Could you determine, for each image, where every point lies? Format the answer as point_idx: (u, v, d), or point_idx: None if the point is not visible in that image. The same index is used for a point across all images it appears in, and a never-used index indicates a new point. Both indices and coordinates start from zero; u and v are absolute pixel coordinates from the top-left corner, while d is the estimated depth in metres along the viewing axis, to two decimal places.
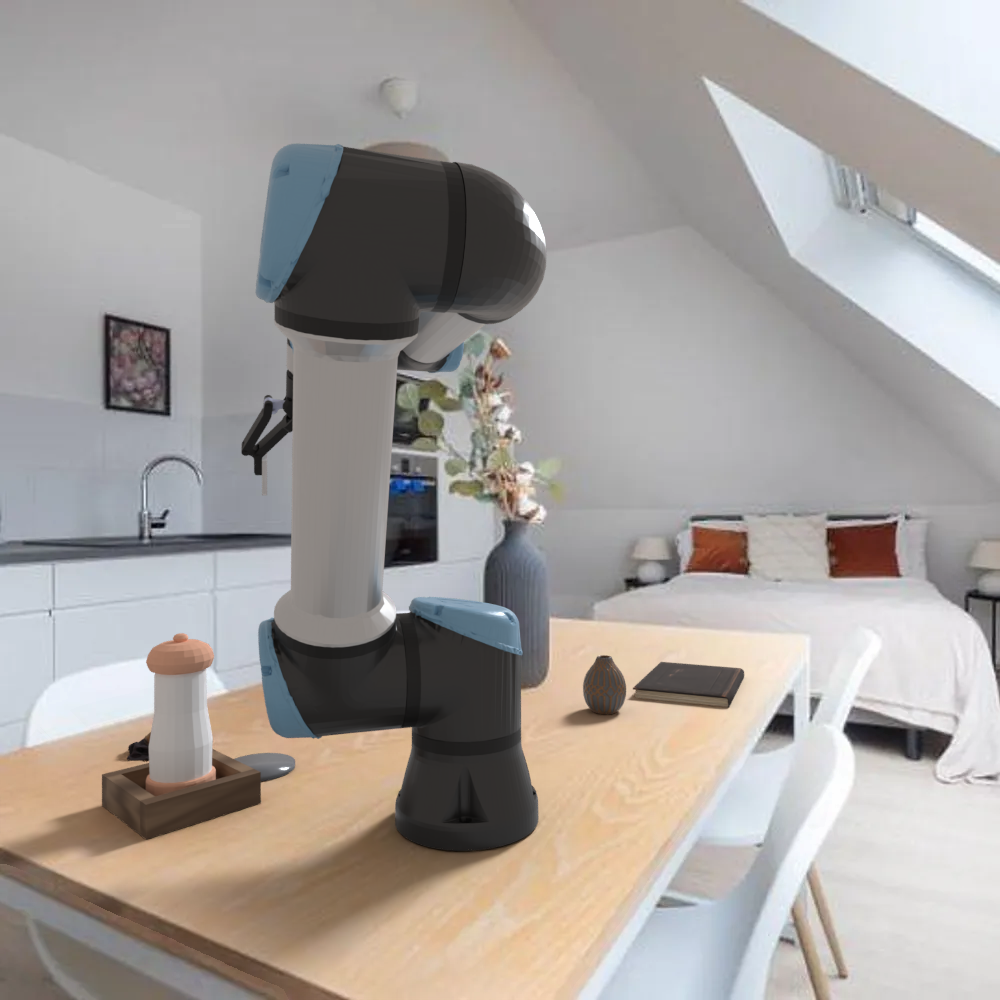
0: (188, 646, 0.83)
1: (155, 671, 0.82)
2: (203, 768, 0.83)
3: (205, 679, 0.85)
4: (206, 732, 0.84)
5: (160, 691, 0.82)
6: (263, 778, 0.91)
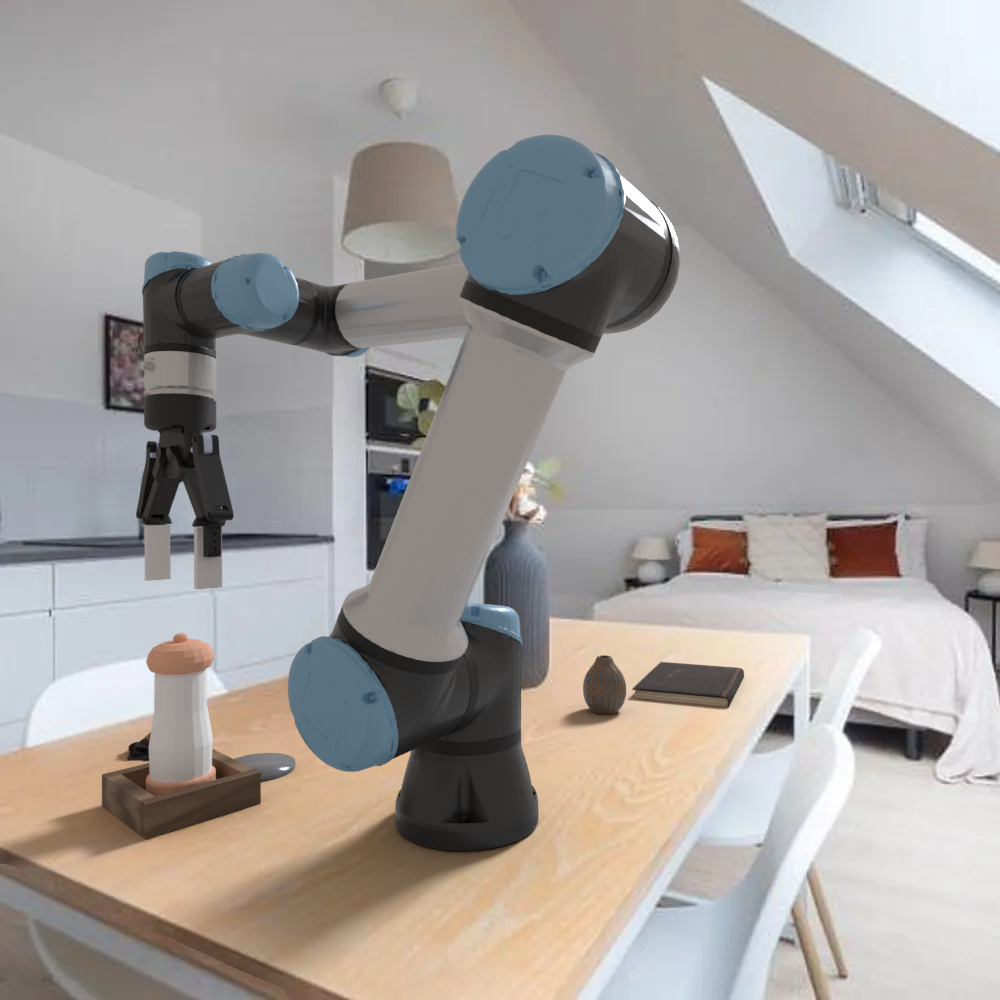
0: (188, 646, 0.83)
1: (155, 671, 0.82)
2: (203, 768, 0.83)
3: (205, 679, 0.85)
4: (206, 732, 0.84)
5: (160, 691, 0.82)
6: (263, 778, 0.91)
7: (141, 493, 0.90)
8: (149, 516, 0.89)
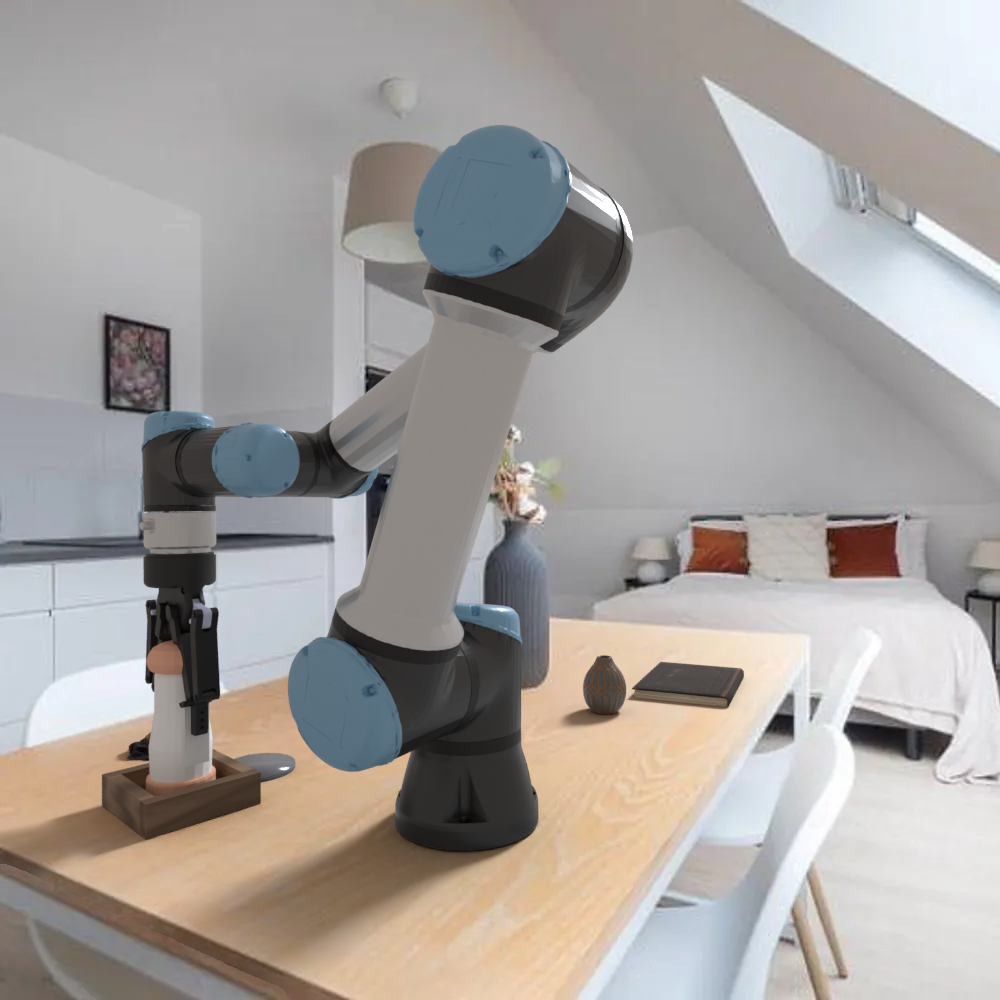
0: None
1: (155, 671, 0.82)
2: (203, 768, 0.83)
3: None
4: None
5: (160, 691, 0.82)
6: (263, 778, 0.91)
7: (147, 655, 0.88)
8: None
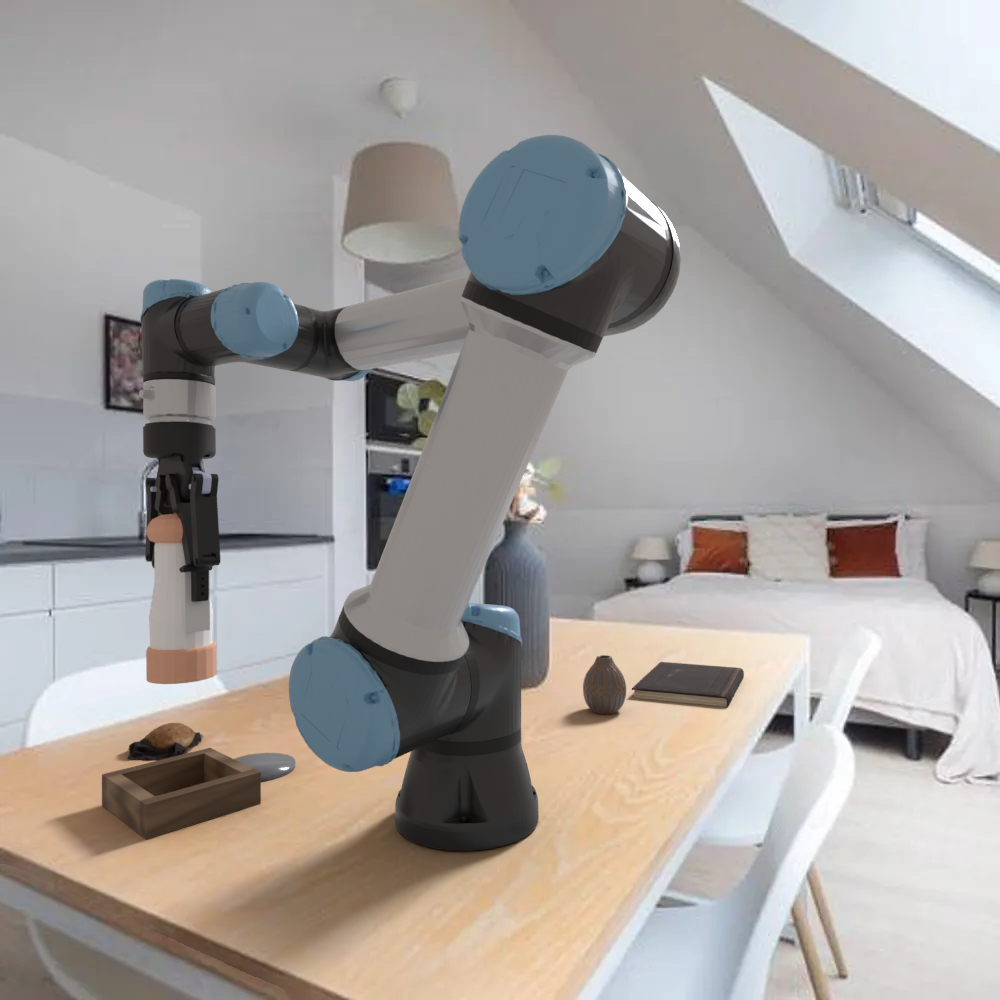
0: None
1: (155, 539, 0.82)
2: (204, 638, 0.83)
3: None
4: None
5: (160, 560, 0.82)
6: (263, 778, 0.91)
7: None
8: None
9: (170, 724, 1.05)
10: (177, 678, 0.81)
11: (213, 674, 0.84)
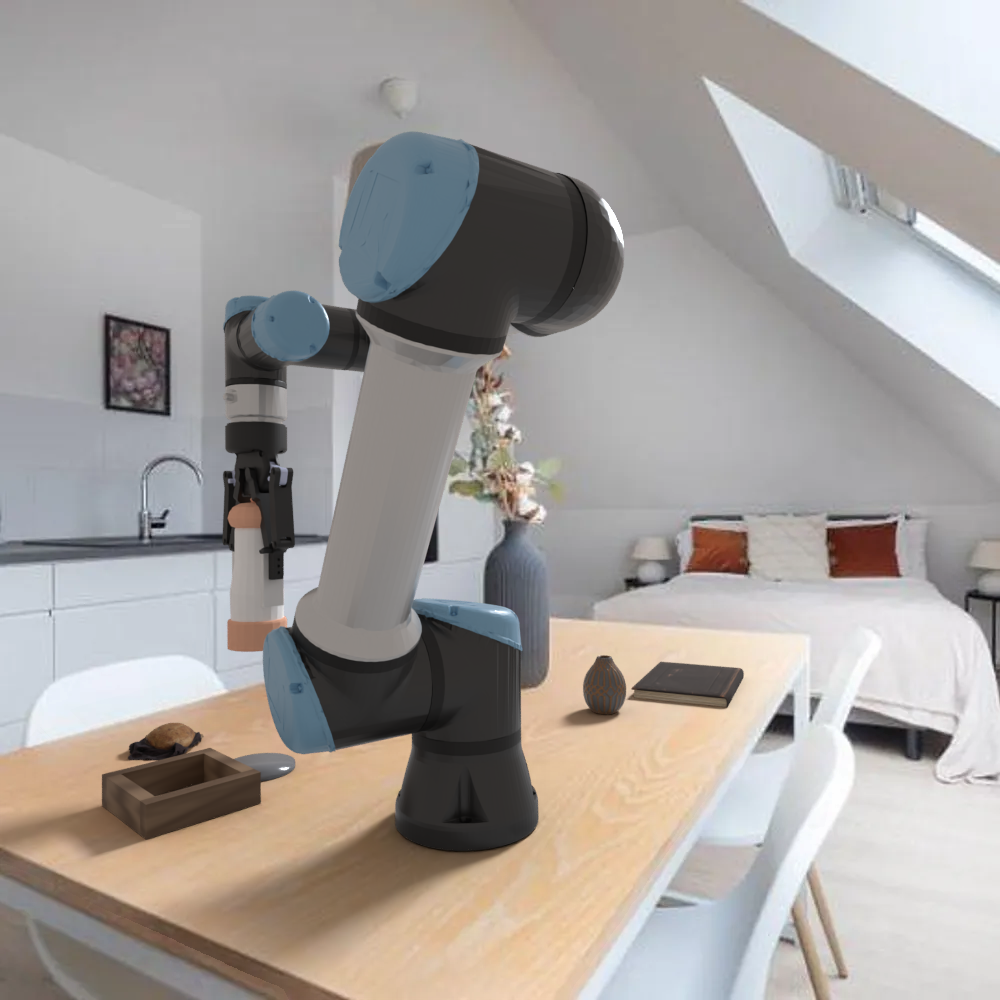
0: None
1: (237, 524, 0.93)
2: (278, 612, 0.94)
3: None
4: None
5: (241, 543, 0.93)
6: (263, 778, 0.91)
7: (224, 520, 0.99)
8: None
9: (170, 724, 1.05)
10: (256, 647, 0.92)
11: None
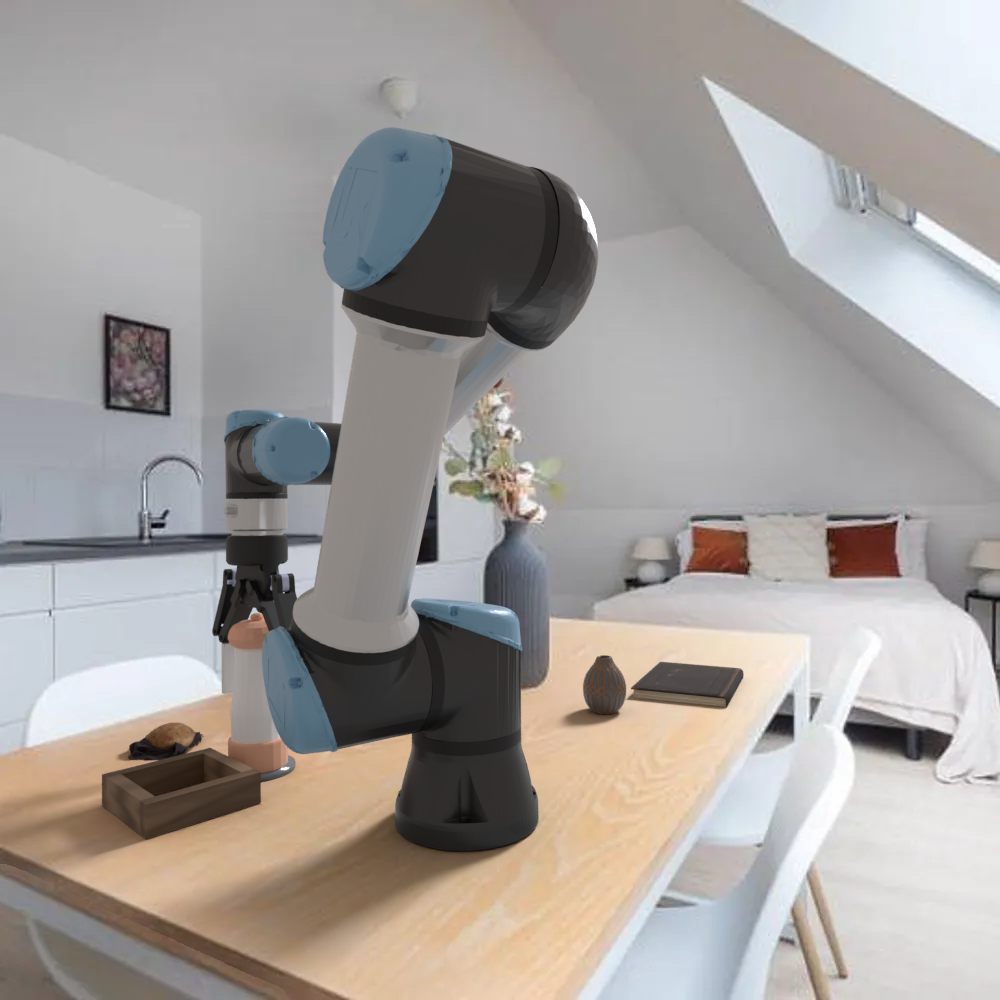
0: (265, 624, 0.94)
1: (237, 646, 0.93)
2: None
3: None
4: None
5: (241, 663, 0.93)
6: (263, 778, 0.91)
7: (217, 614, 1.00)
8: (226, 635, 0.99)
9: (170, 724, 1.05)
10: (257, 769, 0.92)
11: (286, 762, 0.95)
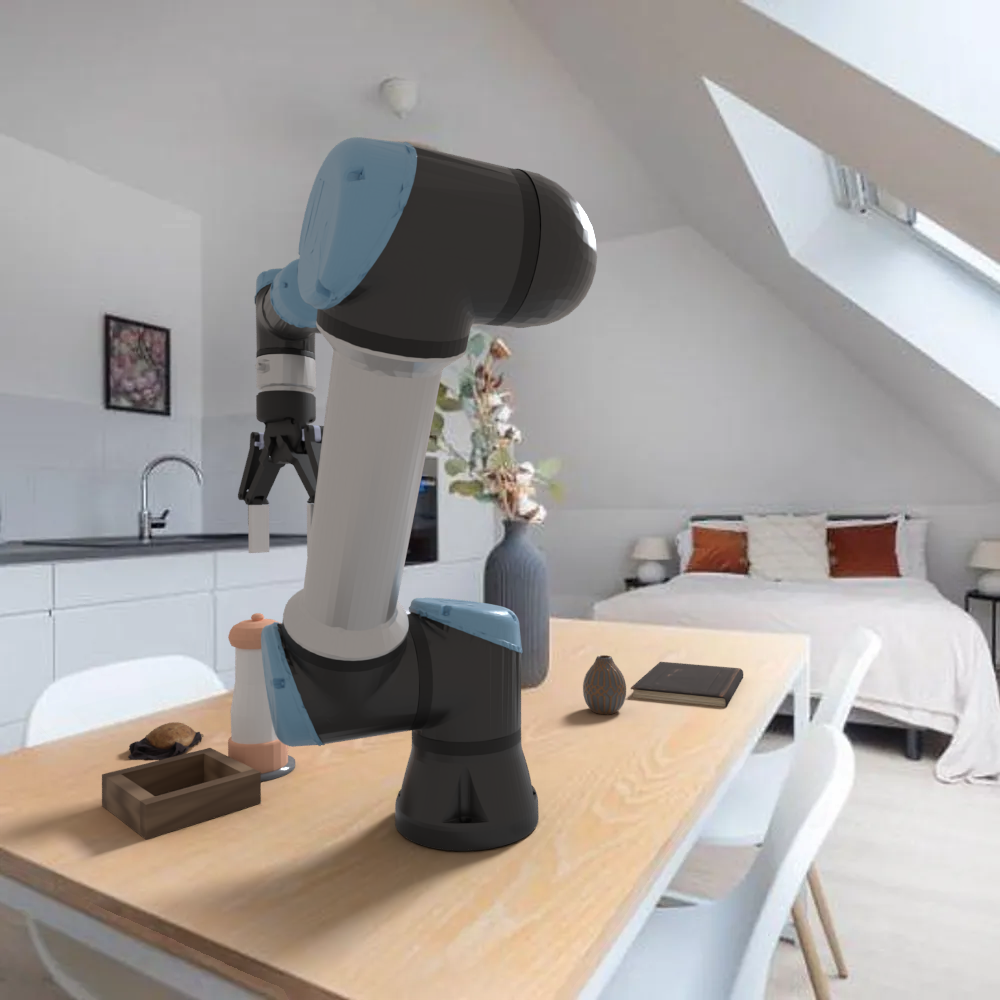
0: (266, 624, 0.94)
1: (237, 646, 0.93)
2: None
3: None
4: None
5: (241, 663, 0.93)
6: (263, 778, 0.91)
7: (244, 477, 1.03)
8: (252, 497, 1.02)
9: (170, 724, 1.05)
10: (257, 769, 0.92)
11: (286, 762, 0.95)
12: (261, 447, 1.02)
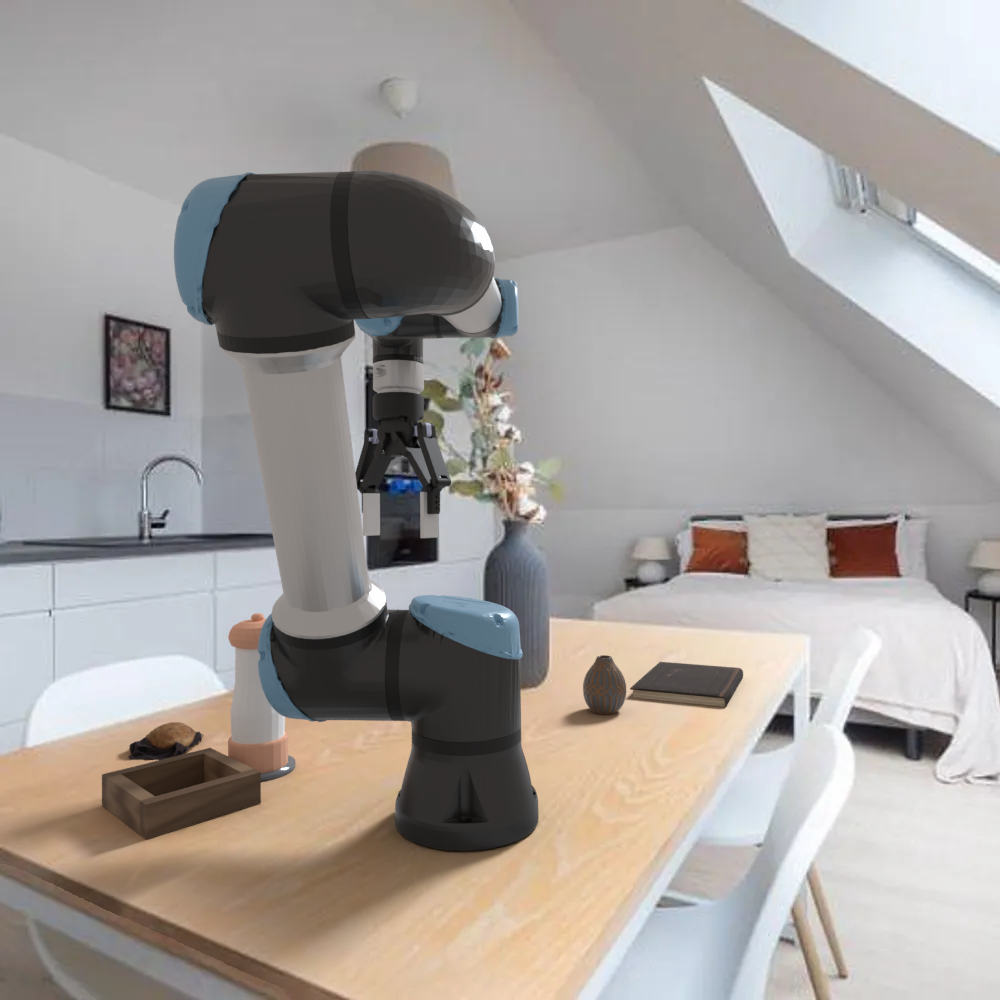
0: None
1: (237, 646, 0.93)
2: (278, 732, 0.94)
3: None
4: None
5: (241, 663, 0.93)
6: (263, 778, 0.91)
7: (358, 469, 1.16)
8: (366, 486, 1.15)
9: (170, 724, 1.05)
10: (257, 769, 0.92)
11: (286, 762, 0.95)
12: (374, 442, 1.15)
